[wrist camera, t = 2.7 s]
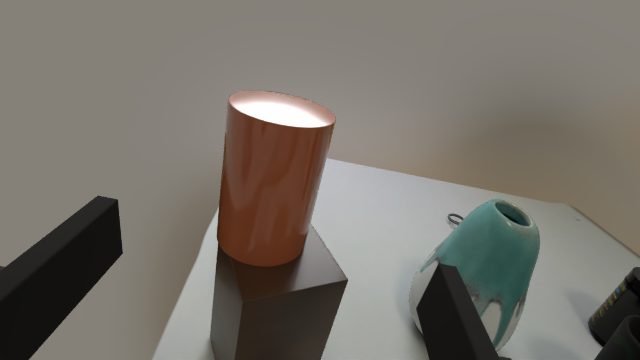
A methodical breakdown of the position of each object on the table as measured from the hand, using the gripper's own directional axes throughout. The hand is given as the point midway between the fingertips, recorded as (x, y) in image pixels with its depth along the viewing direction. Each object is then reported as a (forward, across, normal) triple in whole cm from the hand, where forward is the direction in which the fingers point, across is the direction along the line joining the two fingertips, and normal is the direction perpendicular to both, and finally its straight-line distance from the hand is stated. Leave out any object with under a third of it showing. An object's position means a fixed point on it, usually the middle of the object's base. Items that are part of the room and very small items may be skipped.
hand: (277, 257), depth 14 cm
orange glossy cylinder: (+11, -2, -8) cm, 14 cm away
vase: (+18, +22, -22) cm, 36 cm away
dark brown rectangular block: (+10, 0, -22) cm, 24 cm away
